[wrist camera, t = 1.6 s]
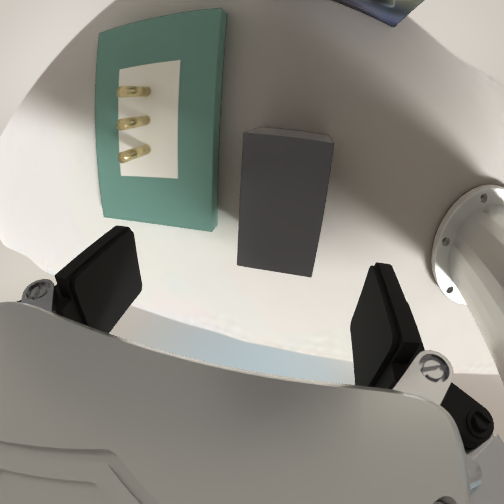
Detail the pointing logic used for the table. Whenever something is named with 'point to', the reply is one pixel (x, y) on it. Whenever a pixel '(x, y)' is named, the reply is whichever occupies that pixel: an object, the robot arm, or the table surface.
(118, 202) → the board
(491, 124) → the table surface
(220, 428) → the robot arm
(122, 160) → the header pins
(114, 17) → the table surface
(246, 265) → the block
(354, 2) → the small box
